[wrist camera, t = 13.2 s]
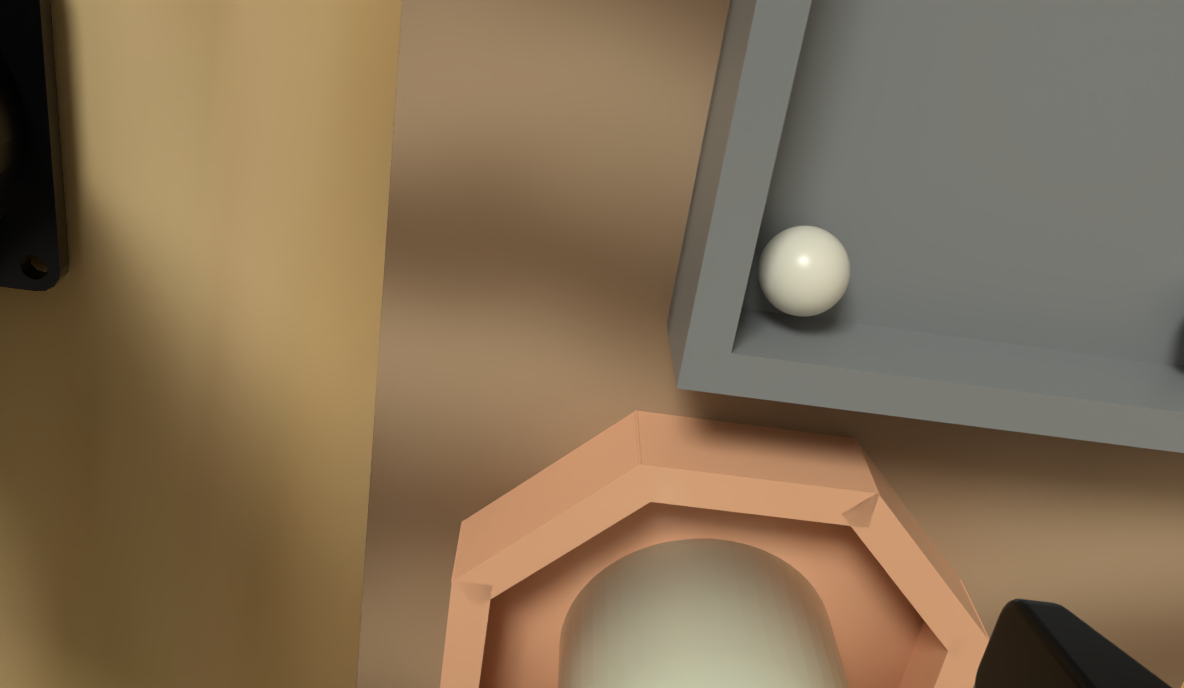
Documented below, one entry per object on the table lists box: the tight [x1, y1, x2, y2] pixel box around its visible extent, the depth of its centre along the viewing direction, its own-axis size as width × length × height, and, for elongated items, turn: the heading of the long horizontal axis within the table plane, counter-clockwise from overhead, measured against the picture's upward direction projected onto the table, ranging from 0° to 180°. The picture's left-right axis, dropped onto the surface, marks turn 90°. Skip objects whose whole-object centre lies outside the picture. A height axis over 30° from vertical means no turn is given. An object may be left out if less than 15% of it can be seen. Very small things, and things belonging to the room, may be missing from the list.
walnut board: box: [356, 0, 1184, 688], centre depth 22 cm, size 29×19×1 cm, turn 172°
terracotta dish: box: [440, 410, 989, 688], centre depth 24 cm, size 11×11×2 cm
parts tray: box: [667, 0, 1184, 453], centre depth 18 cm, size 12×12×3 cm
